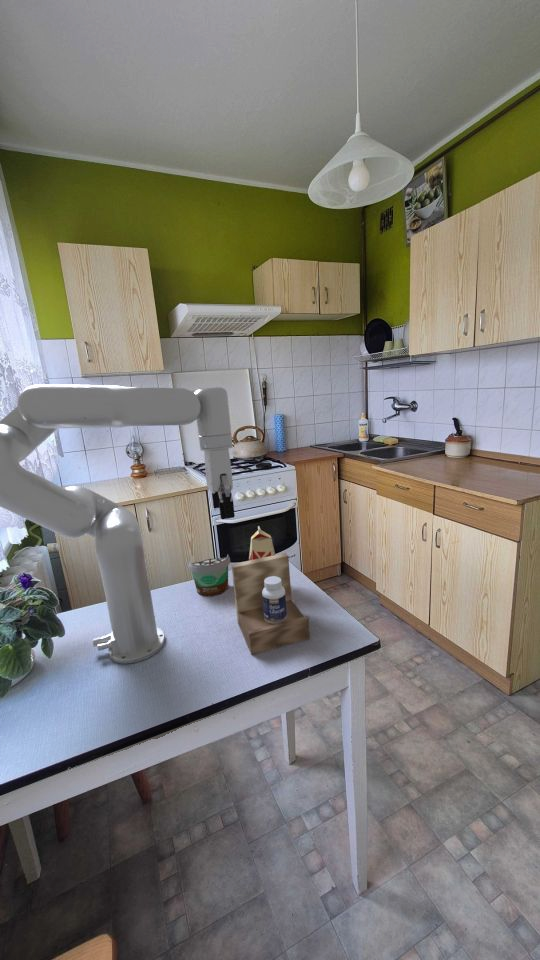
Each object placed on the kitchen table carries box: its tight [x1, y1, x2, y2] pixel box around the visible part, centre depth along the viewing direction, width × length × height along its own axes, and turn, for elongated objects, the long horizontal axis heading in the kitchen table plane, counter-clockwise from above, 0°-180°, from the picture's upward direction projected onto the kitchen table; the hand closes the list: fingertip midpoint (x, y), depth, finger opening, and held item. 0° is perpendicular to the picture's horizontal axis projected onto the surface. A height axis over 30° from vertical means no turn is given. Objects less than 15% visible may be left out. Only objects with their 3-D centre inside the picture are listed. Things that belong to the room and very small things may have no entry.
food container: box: [188, 554, 231, 598], centre depth 111 cm, size 12×6×10 cm, turn 104°
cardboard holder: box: [230, 552, 311, 656], centre depth 90 cm, size 14×13×16 cm
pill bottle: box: [262, 576, 287, 624], centre depth 89 cm, size 5×5×10 cm
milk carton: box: [248, 525, 276, 561], centre depth 108 cm, size 9×9×20 cm
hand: (223, 512), depth 93 cm, fingers open, 9 cm apart
